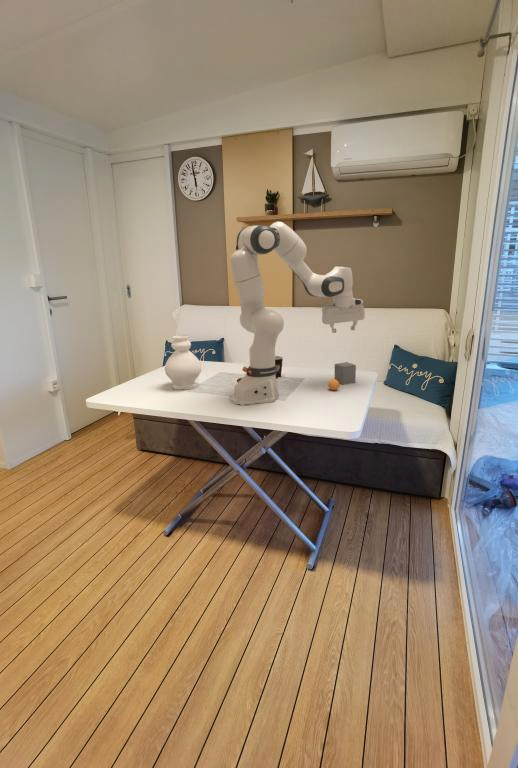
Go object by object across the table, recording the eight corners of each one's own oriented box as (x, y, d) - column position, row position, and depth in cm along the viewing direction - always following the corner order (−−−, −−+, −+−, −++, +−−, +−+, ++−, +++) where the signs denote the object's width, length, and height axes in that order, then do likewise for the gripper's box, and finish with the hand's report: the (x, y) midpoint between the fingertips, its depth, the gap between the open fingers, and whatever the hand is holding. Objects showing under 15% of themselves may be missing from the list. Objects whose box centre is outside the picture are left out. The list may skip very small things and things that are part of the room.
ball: (332, 392, 186) (332, 381, 184) (326, 389, 190) (326, 379, 189) (341, 390, 188) (341, 379, 186) (335, 387, 192) (335, 377, 191)
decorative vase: (163, 392, 195) (158, 340, 188) (170, 381, 212) (165, 334, 205) (201, 390, 196) (196, 338, 188) (204, 380, 213) (200, 332, 206)
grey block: (343, 384, 196) (343, 367, 194) (334, 381, 202) (334, 363, 200) (355, 382, 199) (355, 365, 196) (346, 379, 205) (346, 362, 203)
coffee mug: (283, 374, 219) (283, 355, 216) (282, 378, 210) (282, 359, 208) (261, 374, 220) (261, 356, 217) (260, 378, 212) (259, 359, 209)
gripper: (324, 305, 184) (325, 335, 188) (366, 300, 188) (366, 329, 192) (319, 303, 190) (320, 332, 194) (360, 298, 193) (360, 327, 198)
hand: (343, 331), depth 193 cm, fingers open, 8 cm apart
